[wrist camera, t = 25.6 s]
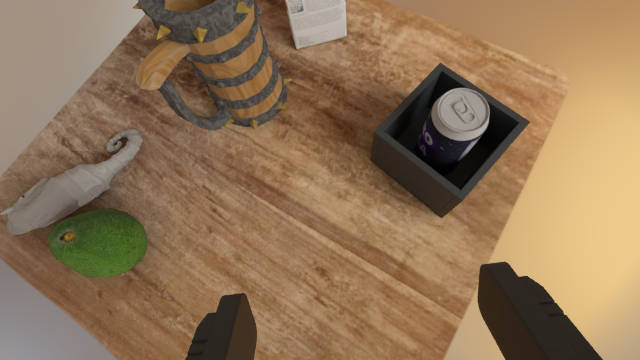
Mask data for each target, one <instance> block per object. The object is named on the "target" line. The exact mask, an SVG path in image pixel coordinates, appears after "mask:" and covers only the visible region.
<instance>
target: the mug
mask: <svg viewBox="0 0 640 360" xmlns="http://www.w3.org/2000/svg"><path fill="white" fill-rule="evenodd" d="M138 1H139V2H138V3H137V4H136V5H135V6H134V7H133V8H136V9H142V10H143V11H144V12H145V14H147V15H148V16H149V17H150V18H151V19H152V21H153V23H154V26H155V27H156V28H157V30H159V31H158V35H157V39H159V38H162V37H164V36H166V37H167V38H169V39H167V40H165V41H163V42H162V43H160V44H159V45H158V46H157V47H155V48H154V49H153V50H152V51H151V52H150V53H149V54H148V55H147V56H146V57H145V59H144V60H143V61H142V62H141V63H140V64H139V65H138V70H137V74H136V78H135V83H136V84H137V85H138V86H139V87H140V89H147V90H154V89H158V90H159V91H160V93H161V94H162V95H163V97H164V98H165V100H166V101H167V103H168V104H169V106H170V107H171V108H172V109H173V110H174V111H175V112H176V113H177V115H178V116H180V117H182V118H184V119H185V120H187V121H189V122H191V123H193V124H195V125H197V126H198V127H201V128H204V129H208V130H218V129H220V128H221V127H222V126H223V125H225V124H226V126H227V125H229V124H230V123H233V124H236V125H240V126H243V127H249V126H252V127H253V128H254V130H255V129H256V126H259V125H261V124H263V123H265V122H267V121H269V120H271V119H273V118H274V117H275V116H276V115H277V114H278V113H279V112H280V111H281V109H287V108H286V107H285V105H284V102H285V100H286V98H287V92H286V84H287V83H288V82H290V81H291V80H292V79H288V78H284V77H283V75H282V73H281V71H280V70H279V68H278V66H279V63H278V61H275V60H274V58H273V57H272V55H271V54H270V51H269V50H268V44H267V41H266V39H265V36H264V34H263V32H264V29H263V27H261V26H259V24H258V16H259V15H260V14H261V9H260V8H259V7H257V4H256V2H255V1H254V0H138ZM157 39H156V40H157ZM184 56H185V60H187V61H189V62H190V61H191V62H192V64H193V66H194V69H195V70H194V72H193V73H194V75H195V76H196V77H199V76H200V77H201V78H202V79H204V80H205V81H204V82H203V85H204V86H205V87H207V88H208V90H209V92H210V94H211V97H212V98H213V100H211V101H210V102H209V104H216V106H217V109H218V111H217V112H216V113H215V114H214V115H213V116H211V117H209V118H204V117H201V116H198V115H196V114H194V113H193V112H191V110H190V109H189V108H188V107H187V105H186V104H185V103H184V101H183V100H182V98H181V96H180V95H179V93H178V91H177V90H176V89H175V87H174V86H173V84H172V83H171V82H170V81H169V80H168V79H167V77H168V75H169V74H170V72H171V71H172V70H173V69H174V67H175V66H176V65H177V63H178V62H179V61H180V60H181V59H182V58H183V57H184ZM226 126H225V127H226Z"/></svg>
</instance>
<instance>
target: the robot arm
mask: <svg viewBox="0 0 640 360" xmlns="http://www.w3.org/2000/svg"><path fill="white" fill-rule="evenodd" d="M478 305H479V309H480V312H481V315H482V317H483V319H484V321H485V323H486V325H487V326H488V328H489V330H490V332H491V334H492V336H493V338H494V339H495V341H496V343H497V345H498V346H499V348H500V350H501V352H502V354H503V356H504V358H505V360H603V359H602V358H601V357H600V356H599V355H598V353H597V352H596V351H595V350H594V349H593V347H592V346H591V345H590V344H589V342H588V341H587V340H586V339H585V338H584V337H583V335H582V334H581V333H580V332H579V330H578V329H577V328H576V327H575V325H574V324H573V323H572V322H571V321H570V319H569V318H568V317H567V316H566V315H564V313H563V311H562V309H561V308H560V307H559V306H558V305H557V303H555V302H554V300H553V299H552V297H551V296H550V295H549V294H548V292H547V291H546V290H545V289H544V287H542V286H541V285H540V284H538V283H537V282H535V281H534V280H532V279H531V278H529V277H528V276H522V277H518V276H517V274H516V273H515V272H514V270H513V269H512V268H511V266H510V265H509V264H508V263H507V262H499V263H491V264H483V265H481V267H480V274H479V287H478ZM256 342H257V329H256V323H255V320H254V317H253V314H252V311H251V308H250V305H249V302H248V299H247V296H246V294H245V293H241V294H233V295H225V296H222V297H221V299H220V302H219V305H218V309H217V312H216V313H208V314H207V315H206V316H205V318H204V319H203V320H202V322H201V323H200V324H199V325H198V327H197V329H196V332H195V335H194V337H193V340H192V344H191V345H190V348H189V351H188V356H187V357H186V359H185V360H254V354H255V348H256Z"/></svg>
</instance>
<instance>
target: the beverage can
mask: <svg viewBox="0 0 640 360" xmlns="http://www.w3.org/2000/svg"><path fill="white" fill-rule="evenodd" d="M489 115H490V109H489V105H488V103H487V101H486V99H485V98H484V97H483V96H482V95H481V94H479V93H478V92H476V91H474V90H471V89H468V88H456V89H452V90H450V91H448V92H446V93H445V94H444V95H442V96H441V97H439V98H438V99H437V100H436V101H435V102H434V104H433V105H432V108H431V110H430V113H429V115H428V117H427V120H426V122H425V124H424V127H423V129H422V132H421V134H420V136H419V139H418V141H417V144H416V146H415V150H414V155H415V156H417V157H418V158H419V159H421V160H422V161H423V162H425V163H426V164H427V165H428V166H430V167H431V168H432V169H434V170H435V171H436V172H438V173H439V174H440V175H443V174H447V173H449V172H451V171H453V170H454V169H455V168H456V167H457V165H458V164H459V163H460V162H461V161H462V159H463V158H464V157H465V156H466V154H467V153H468V152H469V151H470V149H471V148H472V147H473V146H474V145H475V143H476V142H477V141H478V140H479V138H480V137H481V136H482V135H483V133H484V132H485V131H486V129H487V127H488V124H489Z"/></svg>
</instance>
